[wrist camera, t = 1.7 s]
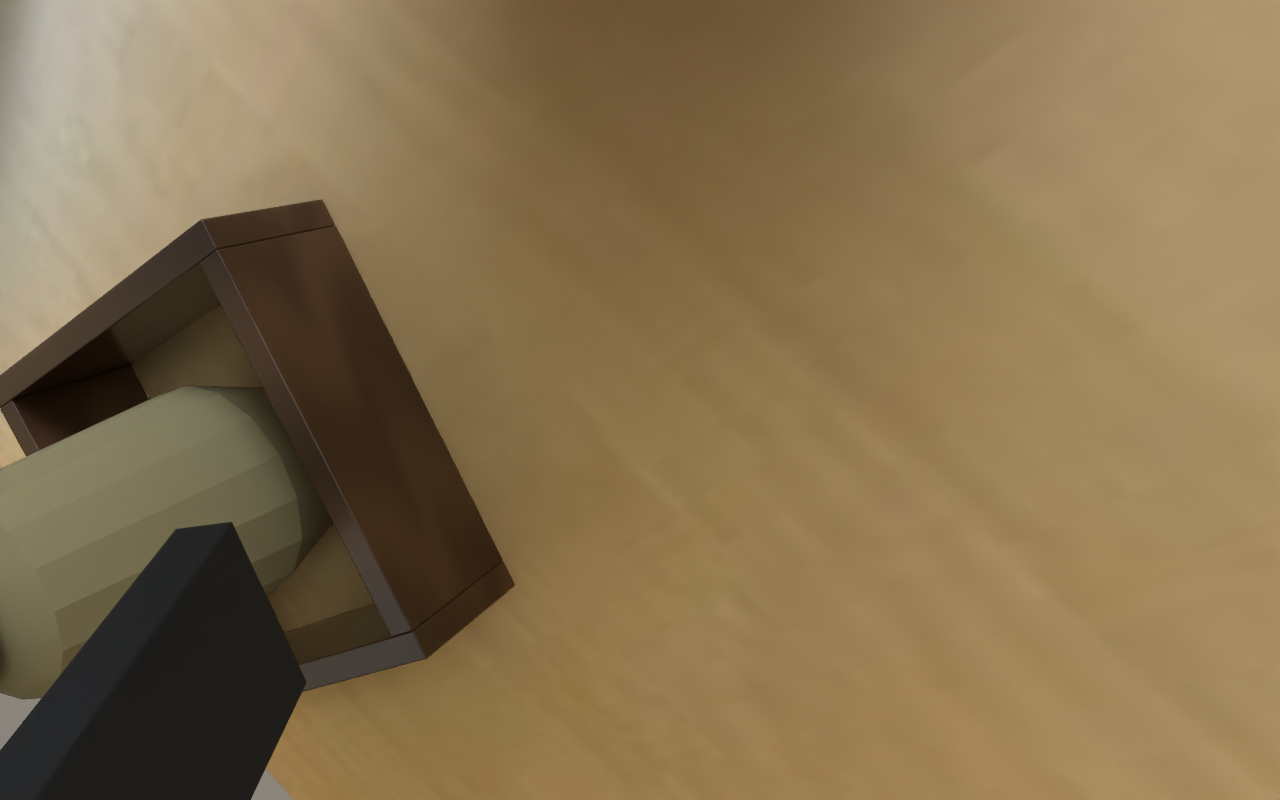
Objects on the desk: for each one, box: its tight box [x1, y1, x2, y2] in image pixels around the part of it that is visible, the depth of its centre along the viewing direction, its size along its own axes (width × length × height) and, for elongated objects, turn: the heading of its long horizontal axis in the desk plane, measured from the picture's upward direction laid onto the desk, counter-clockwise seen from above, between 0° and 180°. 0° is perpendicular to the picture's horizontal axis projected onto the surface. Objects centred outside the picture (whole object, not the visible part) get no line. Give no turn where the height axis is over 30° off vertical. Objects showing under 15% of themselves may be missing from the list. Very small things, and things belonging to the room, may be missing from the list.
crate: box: [0, 200, 514, 692], centre depth 35 cm, size 15×15×5 cm
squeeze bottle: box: [0, 386, 333, 699], centre depth 30 cm, size 8×8×18 cm
